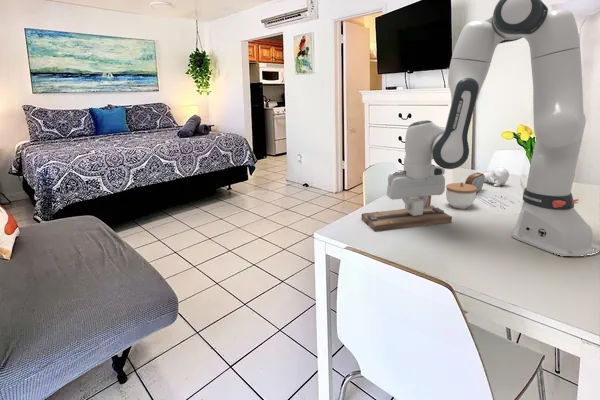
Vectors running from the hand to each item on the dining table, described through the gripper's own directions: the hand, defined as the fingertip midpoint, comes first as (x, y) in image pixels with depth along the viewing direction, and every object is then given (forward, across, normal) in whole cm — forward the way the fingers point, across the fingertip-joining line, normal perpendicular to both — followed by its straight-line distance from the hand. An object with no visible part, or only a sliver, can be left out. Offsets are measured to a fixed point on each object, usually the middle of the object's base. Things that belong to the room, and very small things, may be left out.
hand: (414, 208), depth 126 cm
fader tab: (+2, 0, 0) cm, 2 cm away
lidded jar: (+4, +24, +8) cm, 25 cm away
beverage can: (+4, +11, +13) cm, 17 cm away
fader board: (+4, -3, 0) cm, 5 cm away
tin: (+4, +40, +21) cm, 45 cm away
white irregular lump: (+4, +57, +30) cm, 64 cm away
